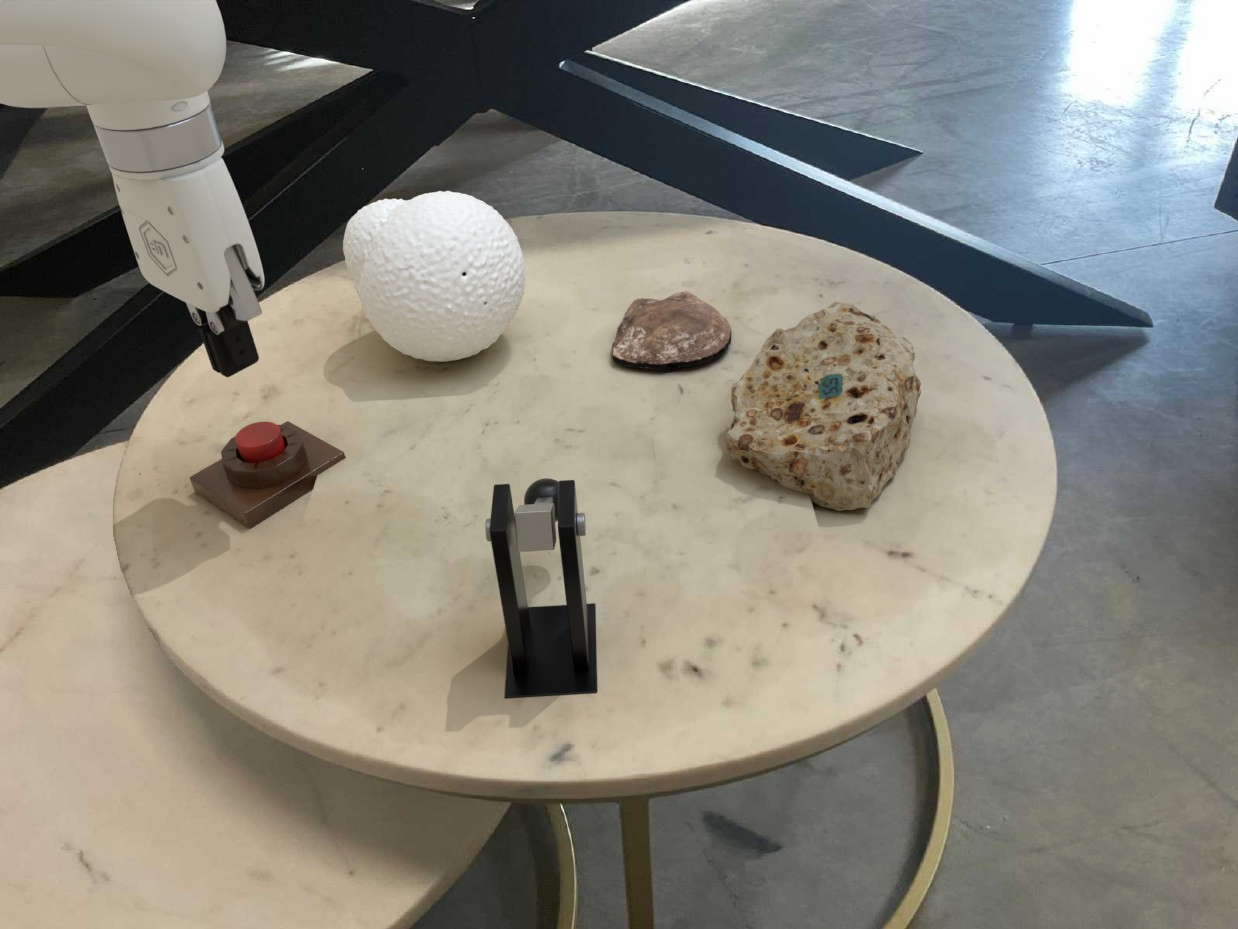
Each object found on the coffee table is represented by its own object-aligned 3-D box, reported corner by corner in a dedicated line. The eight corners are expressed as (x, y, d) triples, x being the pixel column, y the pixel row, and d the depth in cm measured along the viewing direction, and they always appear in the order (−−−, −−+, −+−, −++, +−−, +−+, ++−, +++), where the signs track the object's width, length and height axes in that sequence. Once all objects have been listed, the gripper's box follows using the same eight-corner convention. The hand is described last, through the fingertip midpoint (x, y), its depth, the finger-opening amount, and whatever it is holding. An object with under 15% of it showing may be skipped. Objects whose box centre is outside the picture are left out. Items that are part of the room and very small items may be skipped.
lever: (527, 520, 74) (524, 476, 74) (571, 518, 74) (568, 474, 74) (509, 559, 62) (505, 506, 61) (562, 556, 61) (559, 503, 61)
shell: (742, 313, 106) (743, 282, 104) (719, 380, 96) (720, 347, 94) (633, 304, 108) (632, 273, 106) (601, 368, 99) (599, 335, 97)
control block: (250, 530, 82) (238, 496, 80) (194, 492, 87) (181, 459, 85) (348, 467, 88) (339, 434, 86) (292, 435, 93) (282, 403, 90)
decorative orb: (511, 407, 94) (488, 247, 85) (327, 401, 97) (284, 245, 87) (549, 300, 110) (534, 155, 100) (390, 298, 112) (360, 156, 103)
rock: (899, 535, 79) (879, 436, 74) (725, 525, 86) (694, 434, 80) (943, 373, 93) (929, 278, 87) (790, 376, 100) (767, 289, 94)
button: (257, 469, 84) (251, 452, 83) (232, 454, 86) (226, 436, 84) (293, 447, 86) (288, 430, 85) (268, 433, 88) (262, 416, 87)
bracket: (512, 619, 73) (487, 466, 65) (596, 614, 73) (582, 460, 65) (506, 709, 67) (478, 552, 58) (598, 704, 67) (583, 546, 58)
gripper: (54, 133, 71) (143, 358, 83) (172, 181, 63) (252, 422, 75) (151, 101, 76) (223, 318, 87) (273, 142, 68) (334, 375, 79)
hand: (237, 365), depth 81 cm, fingers closed
